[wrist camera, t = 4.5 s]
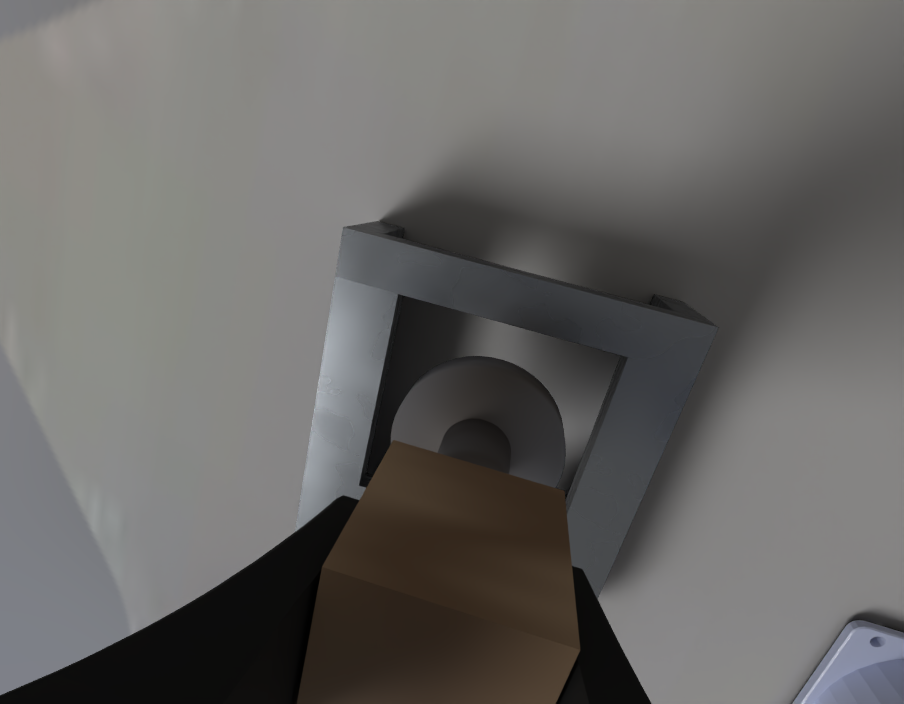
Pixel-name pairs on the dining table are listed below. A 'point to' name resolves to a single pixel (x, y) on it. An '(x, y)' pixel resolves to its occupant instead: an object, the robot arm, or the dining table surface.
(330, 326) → the notched window frame
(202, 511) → the dining table surface
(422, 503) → the peg
